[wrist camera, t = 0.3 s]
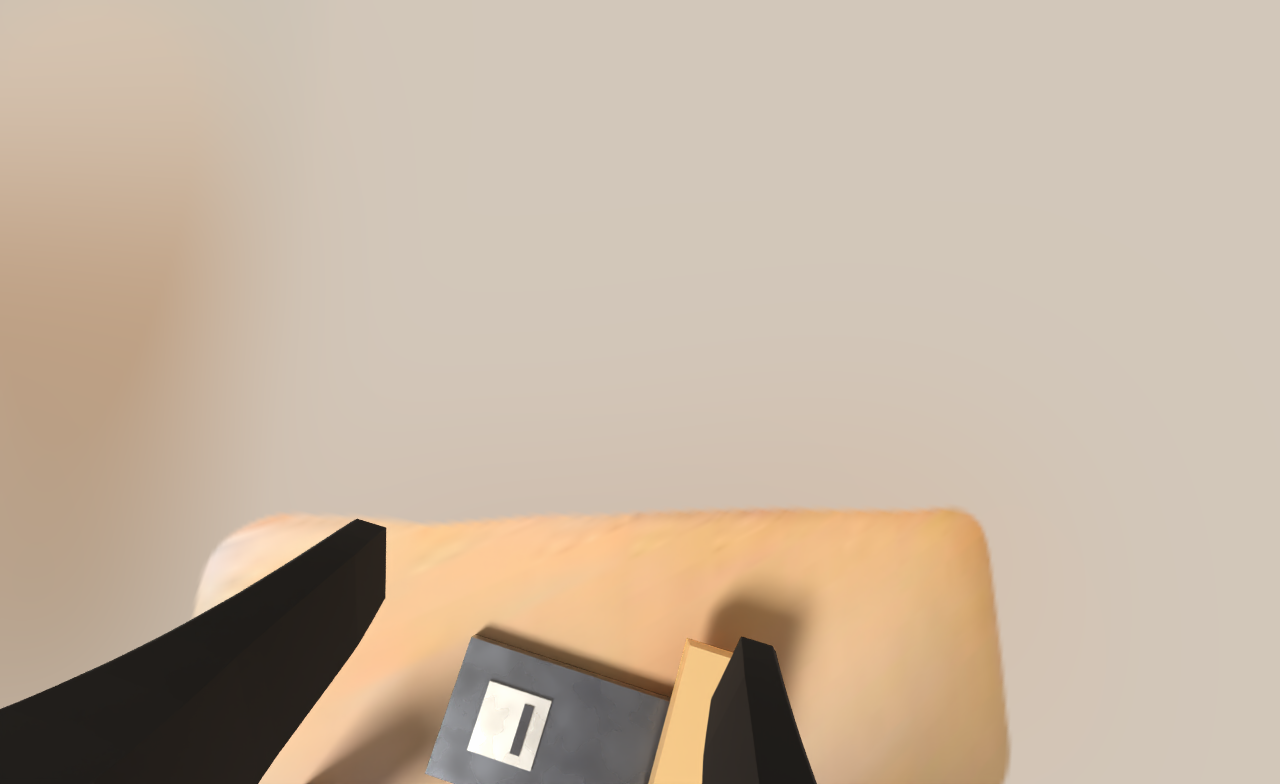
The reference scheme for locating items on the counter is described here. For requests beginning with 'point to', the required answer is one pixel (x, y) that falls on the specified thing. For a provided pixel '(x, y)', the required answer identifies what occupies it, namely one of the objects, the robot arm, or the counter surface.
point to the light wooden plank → (689, 715)
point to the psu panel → (544, 723)
